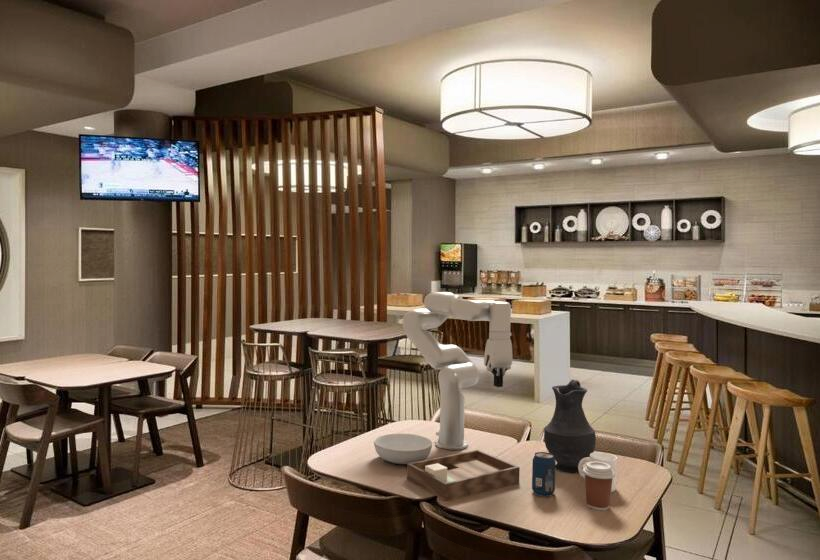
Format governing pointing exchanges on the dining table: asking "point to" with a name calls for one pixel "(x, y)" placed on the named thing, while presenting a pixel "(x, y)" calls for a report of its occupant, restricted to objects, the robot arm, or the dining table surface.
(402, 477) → the dining table surface
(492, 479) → the trap box
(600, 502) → the coffee cup
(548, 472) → the soda can
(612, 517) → the dining table surface
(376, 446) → the serving bowl
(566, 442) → the pitcher
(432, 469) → the block
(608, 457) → the mug
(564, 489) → the dining table surface
